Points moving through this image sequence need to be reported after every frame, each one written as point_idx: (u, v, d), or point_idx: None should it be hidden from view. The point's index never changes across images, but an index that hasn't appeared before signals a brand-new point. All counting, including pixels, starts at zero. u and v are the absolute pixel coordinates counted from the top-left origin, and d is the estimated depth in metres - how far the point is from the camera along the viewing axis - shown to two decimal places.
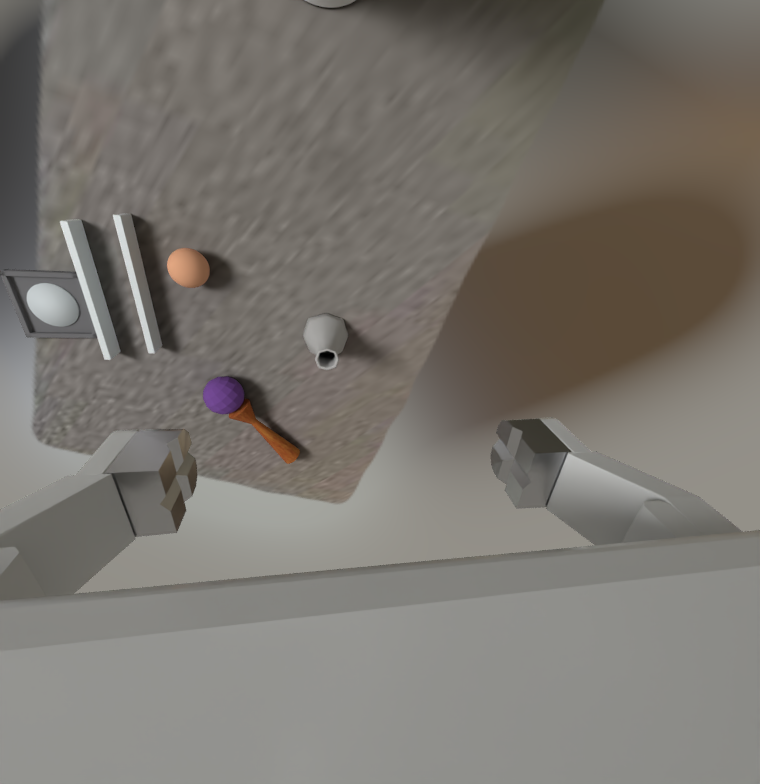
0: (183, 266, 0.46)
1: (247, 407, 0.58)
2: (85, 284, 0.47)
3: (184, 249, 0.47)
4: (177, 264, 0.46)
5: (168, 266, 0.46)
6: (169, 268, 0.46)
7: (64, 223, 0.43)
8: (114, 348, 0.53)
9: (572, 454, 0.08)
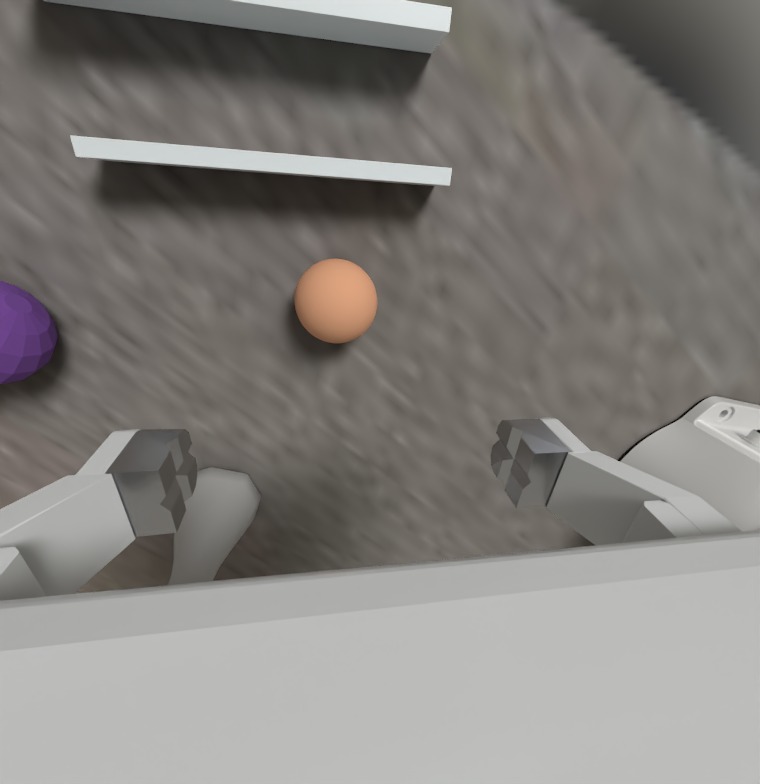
0: (349, 316, 0.20)
1: None
2: (280, 1, 0.15)
3: (376, 305, 0.22)
4: (353, 302, 0.20)
5: (344, 273, 0.20)
6: (341, 277, 0.20)
7: (445, 20, 0.16)
8: None
9: (572, 454, 0.08)
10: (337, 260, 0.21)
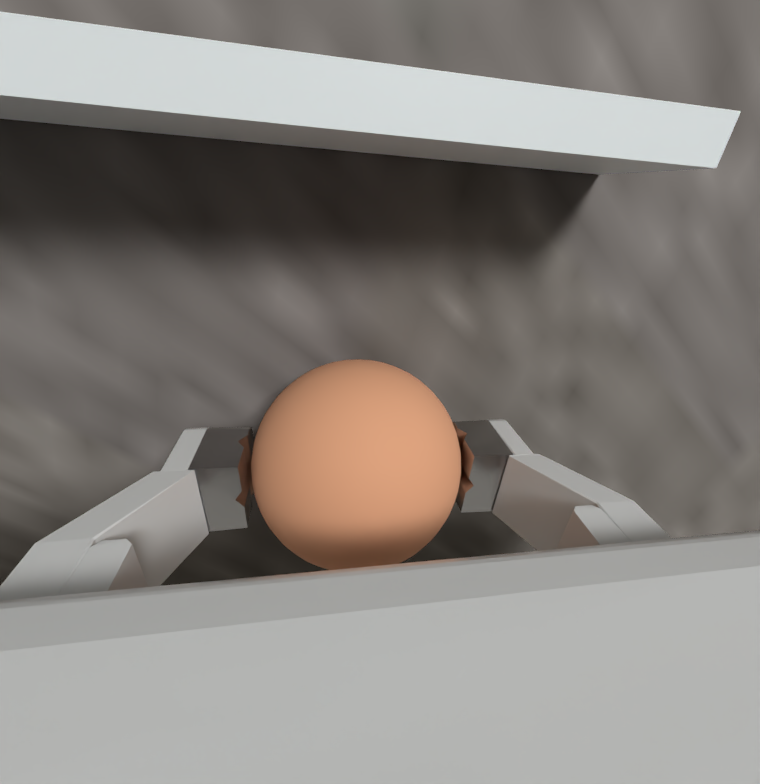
0: (402, 543, 0.07)
1: None
2: None
3: None
4: (414, 511, 0.07)
5: (389, 426, 0.07)
6: (381, 442, 0.07)
7: None
8: None
9: (514, 457, 0.08)
10: (365, 375, 0.08)
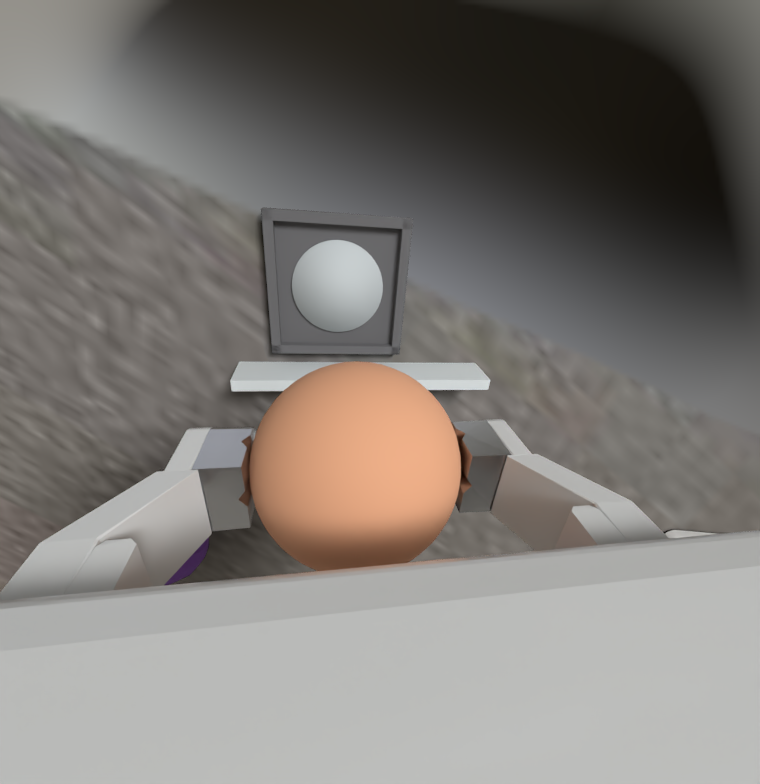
0: (400, 548, 0.07)
1: None
2: None
3: None
4: (413, 516, 0.07)
5: (387, 428, 0.07)
6: (379, 444, 0.07)
7: (485, 385, 0.26)
8: None
9: (512, 457, 0.08)
10: (363, 377, 0.08)
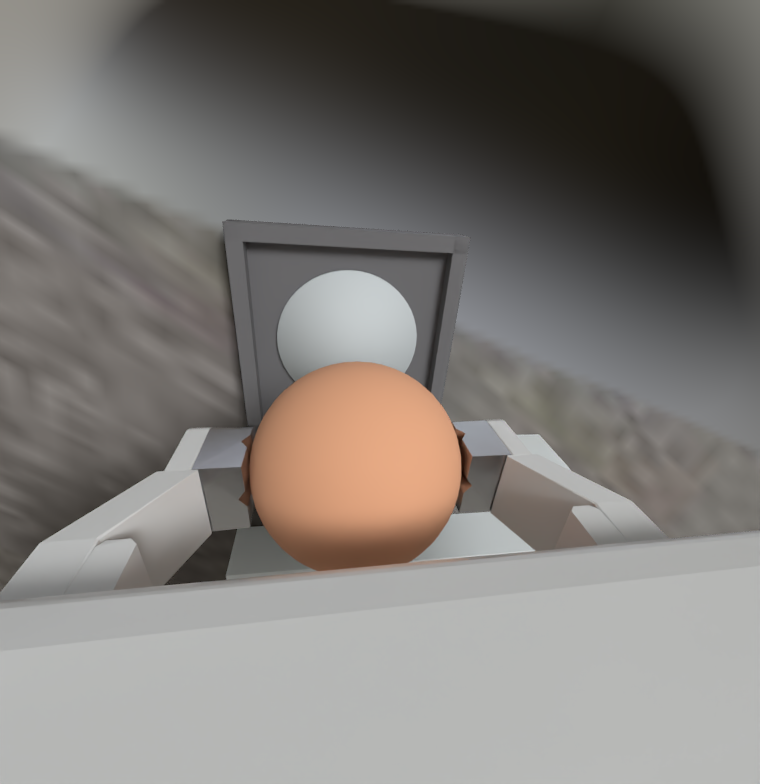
0: (401, 548, 0.07)
1: None
2: None
3: None
4: (413, 516, 0.07)
5: (388, 429, 0.07)
6: (379, 445, 0.07)
7: None
8: None
9: (512, 457, 0.08)
10: (364, 377, 0.07)
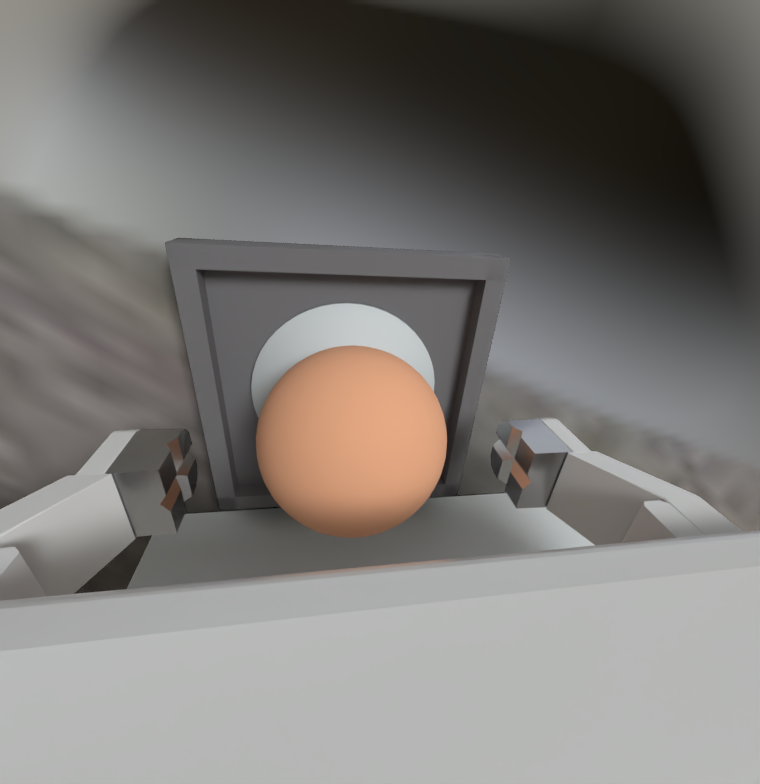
0: (390, 507, 0.08)
1: None
2: None
3: None
4: (400, 477, 0.08)
5: (378, 400, 0.08)
6: (370, 414, 0.07)
7: None
8: None
9: (572, 454, 0.08)
10: (358, 357, 0.08)
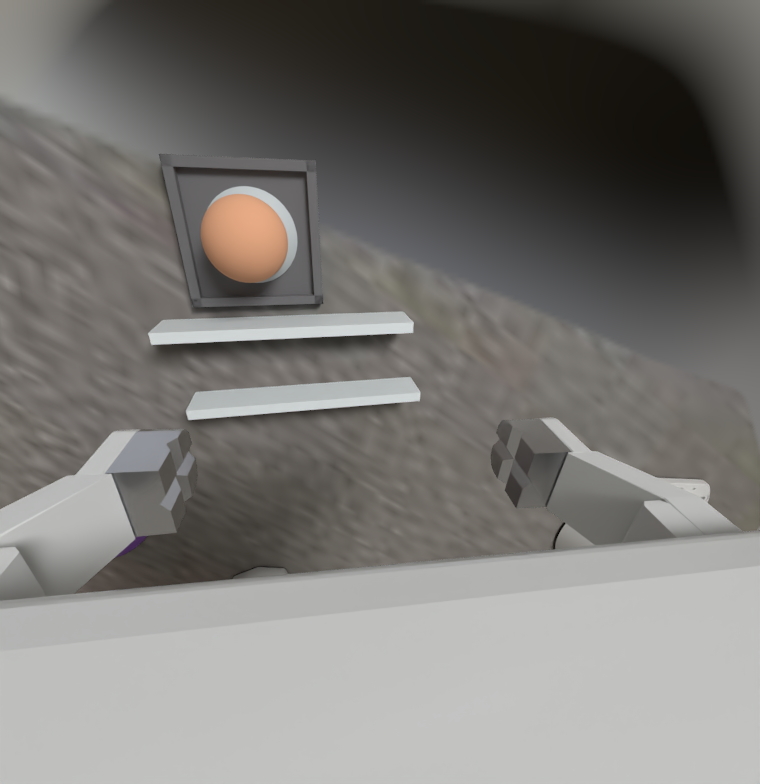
0: (250, 246, 0.20)
1: None
2: (312, 334, 0.26)
3: (285, 241, 0.22)
4: (252, 232, 0.20)
5: (243, 203, 0.20)
6: (239, 207, 0.20)
7: (409, 328, 0.27)
8: None
9: (572, 454, 0.08)
10: (239, 194, 0.21)
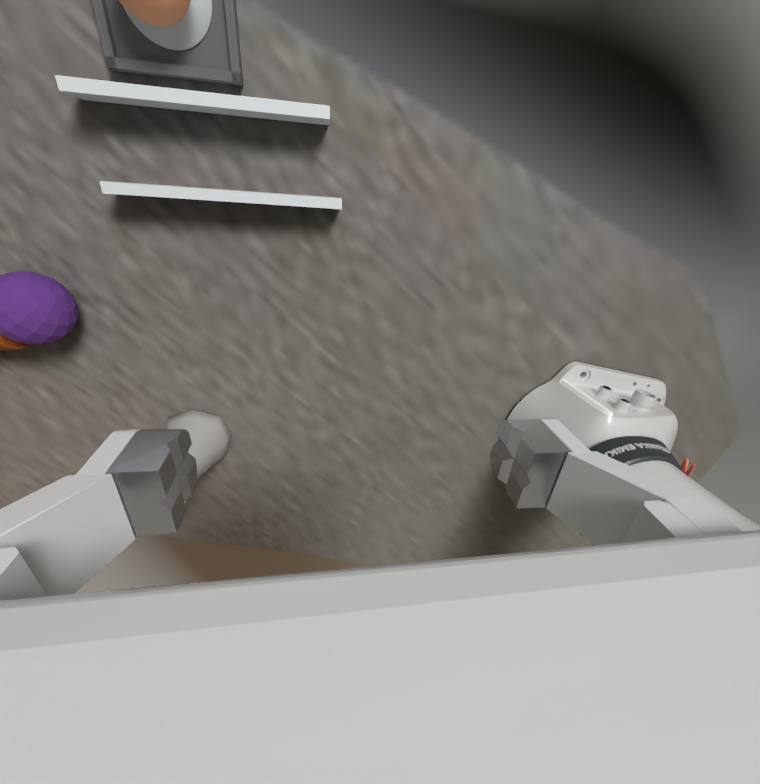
0: None
1: None
2: (224, 104, 0.26)
3: None
4: None
5: None
6: None
7: (326, 113, 0.27)
8: (89, 97, 0.26)
9: (572, 454, 0.08)
10: None
